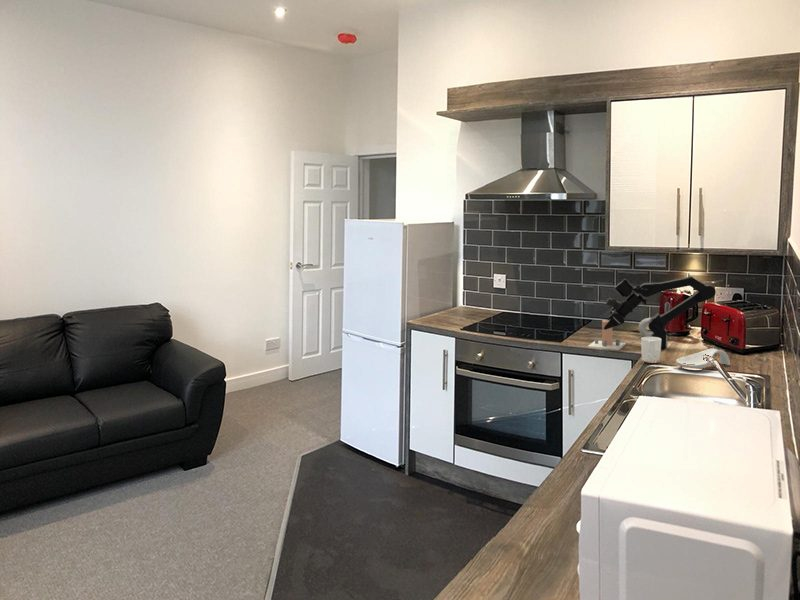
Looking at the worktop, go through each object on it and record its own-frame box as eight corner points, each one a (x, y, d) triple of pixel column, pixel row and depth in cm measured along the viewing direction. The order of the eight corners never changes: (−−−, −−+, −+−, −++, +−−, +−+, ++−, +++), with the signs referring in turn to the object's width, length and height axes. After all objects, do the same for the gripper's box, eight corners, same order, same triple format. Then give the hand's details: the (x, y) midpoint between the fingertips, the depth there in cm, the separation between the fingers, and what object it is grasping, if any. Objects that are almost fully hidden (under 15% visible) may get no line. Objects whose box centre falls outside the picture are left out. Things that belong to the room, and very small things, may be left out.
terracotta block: (612, 343, 293) (612, 320, 291) (612, 345, 288) (612, 322, 287) (601, 343, 294) (602, 320, 293) (601, 345, 290) (602, 321, 288)
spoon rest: (693, 375, 238) (694, 356, 237) (669, 368, 249) (669, 351, 248) (737, 367, 247) (738, 350, 246) (712, 361, 258) (713, 344, 257)
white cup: (650, 365, 254) (651, 341, 252) (636, 361, 261) (636, 337, 260) (665, 362, 257) (665, 339, 255) (650, 359, 264) (651, 335, 263)
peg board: (625, 344, 294) (625, 337, 293) (619, 350, 282) (619, 343, 281) (595, 341, 301) (595, 335, 300) (587, 347, 289) (588, 340, 289)
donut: (638, 337, 307) (638, 317, 306) (638, 336, 311) (639, 316, 309) (659, 339, 303) (660, 318, 302) (660, 337, 306) (660, 317, 305)
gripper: (616, 289, 295) (592, 311, 300) (617, 294, 278) (591, 318, 283) (634, 306, 294) (609, 328, 299) (635, 312, 276) (609, 335, 281)
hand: (604, 327), depth 291 cm, fingers open, 9 cm apart
